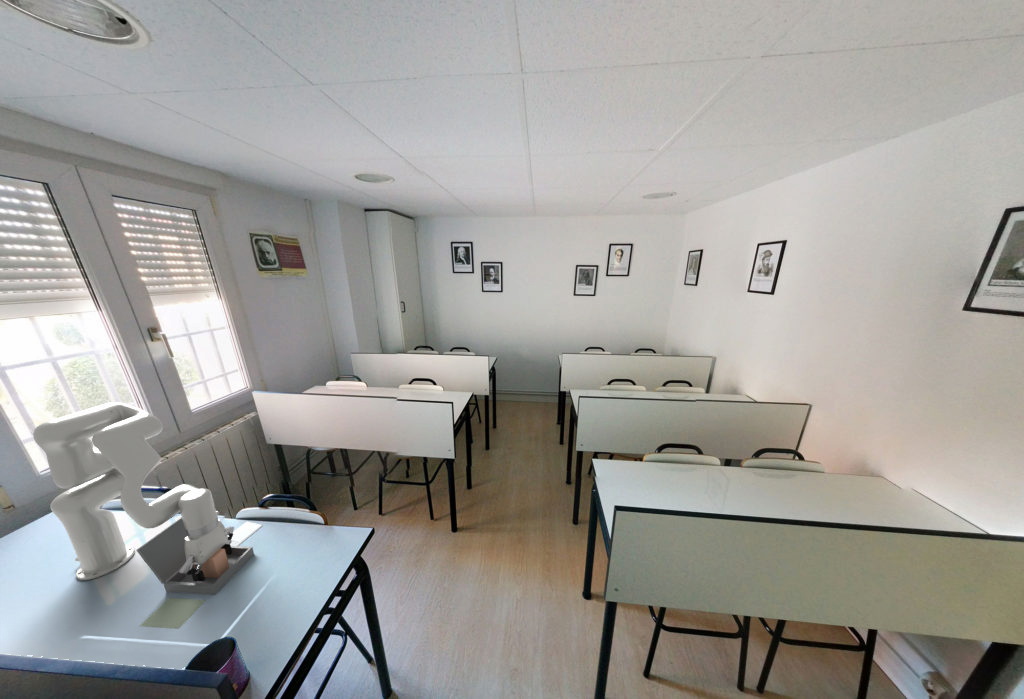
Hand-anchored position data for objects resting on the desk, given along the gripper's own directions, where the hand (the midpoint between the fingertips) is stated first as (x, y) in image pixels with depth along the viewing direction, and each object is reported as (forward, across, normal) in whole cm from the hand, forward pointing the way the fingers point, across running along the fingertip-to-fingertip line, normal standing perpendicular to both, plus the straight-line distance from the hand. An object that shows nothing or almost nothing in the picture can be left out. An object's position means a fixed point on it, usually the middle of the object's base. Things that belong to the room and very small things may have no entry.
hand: (214, 566), depth 106 cm
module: (+2, 0, 0) cm, 2 cm away
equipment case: (+3, 0, -4) cm, 5 cm away
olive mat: (+3, +13, 0) cm, 13 cm away
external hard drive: (+4, -14, -5) cm, 16 cm away
